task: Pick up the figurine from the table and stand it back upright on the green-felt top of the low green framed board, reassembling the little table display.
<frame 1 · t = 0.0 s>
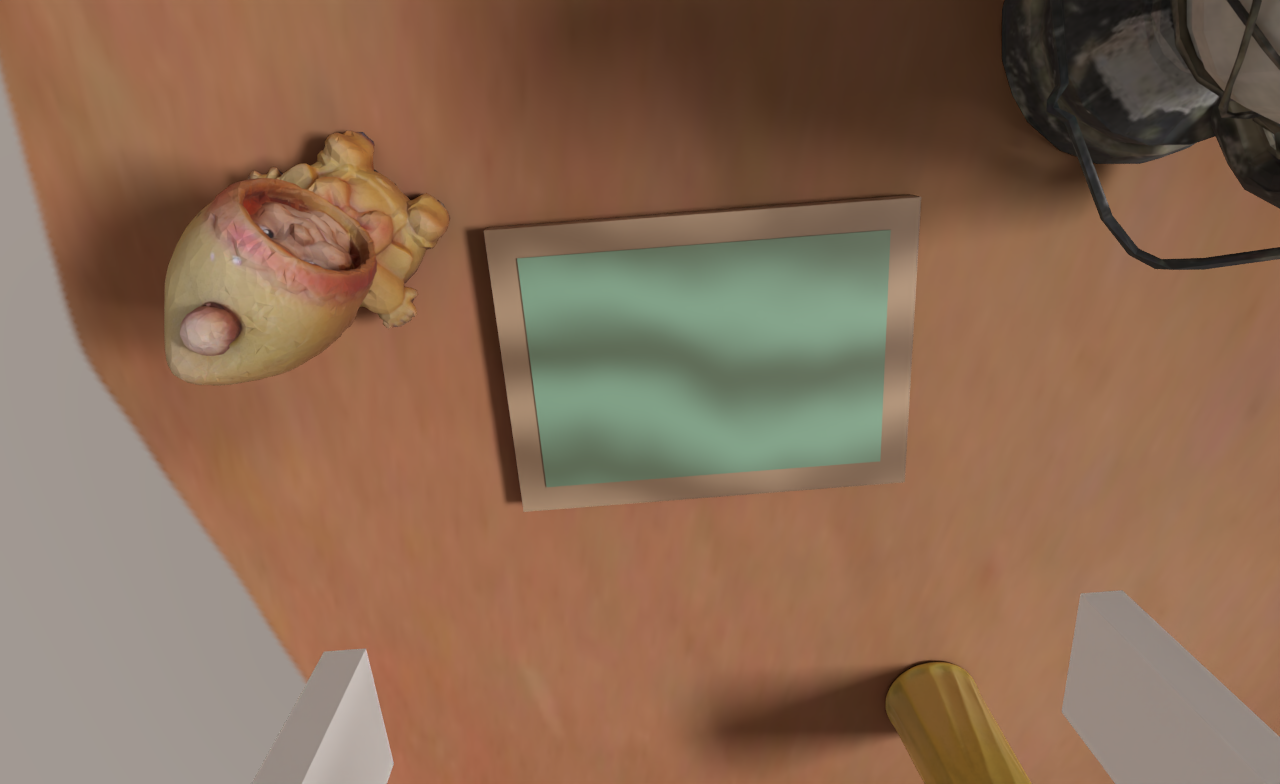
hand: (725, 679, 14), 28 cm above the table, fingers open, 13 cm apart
lantern: (1102, 32, 36), on the table
figurine: (353, 237, 38), on the table
vase: (928, 694, 50), on the table
green framed board: (706, 358, 41), on the table
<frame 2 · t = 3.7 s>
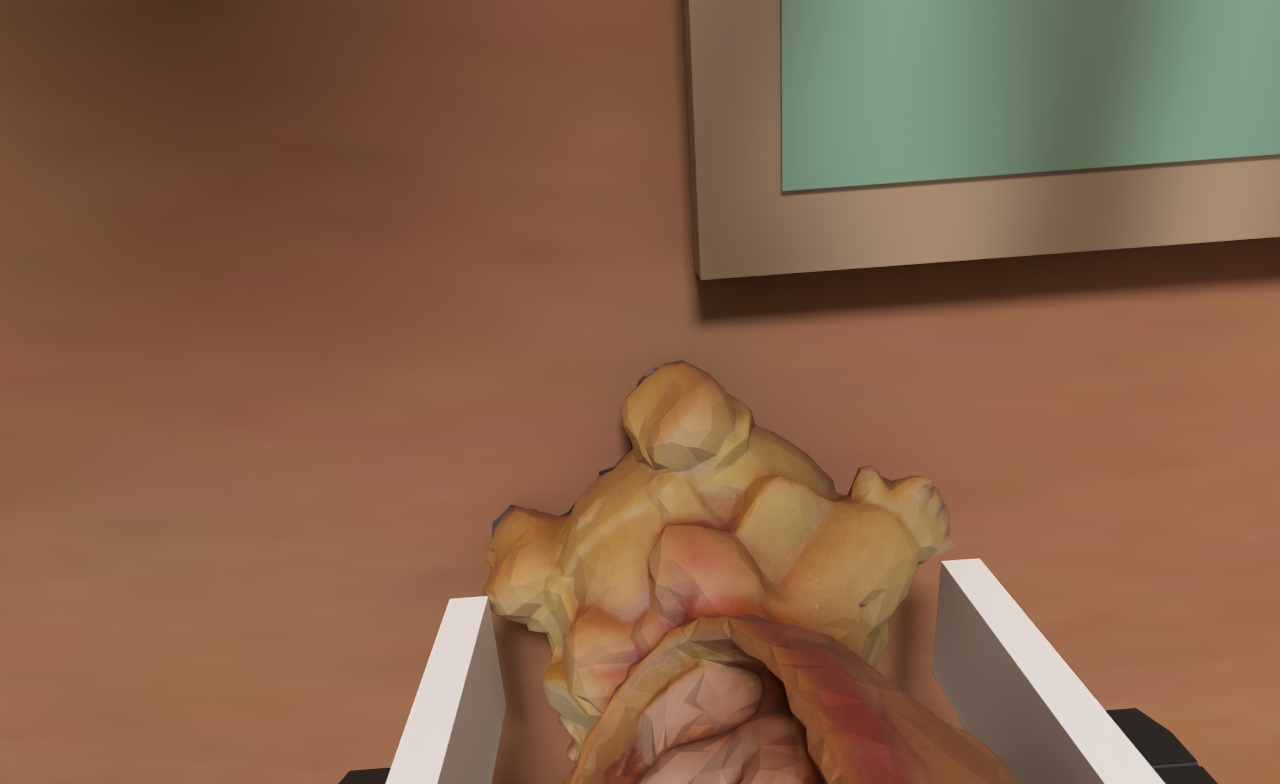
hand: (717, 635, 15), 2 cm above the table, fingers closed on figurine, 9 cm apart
figurine: (716, 561, 17), on the table, touching gripper
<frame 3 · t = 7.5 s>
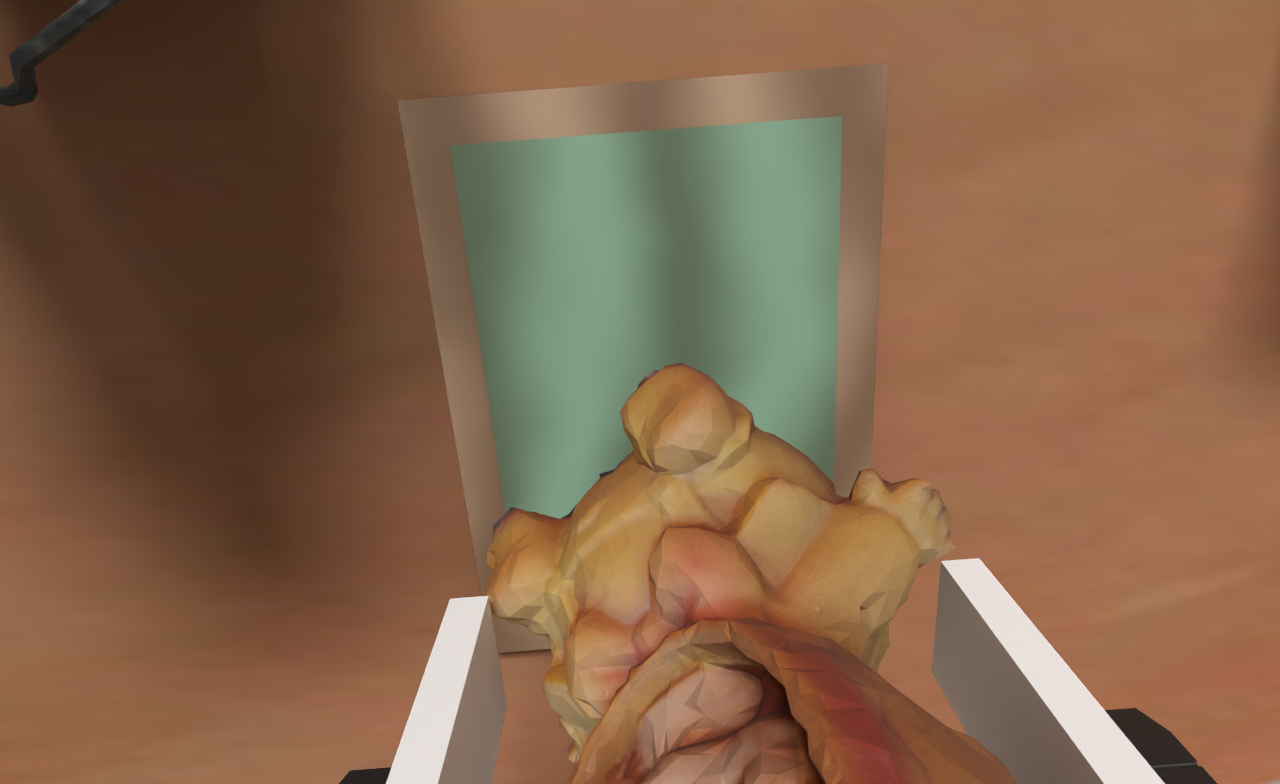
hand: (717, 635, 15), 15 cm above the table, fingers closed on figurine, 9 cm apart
figurine: (716, 563, 17), point 12 cm above the table, touching gripper
green framed board: (661, 387, 29), on the table
when the fingers open (4 cm above the table, at t = 11.5 s): figurine stays where it is, resting on green framed board.
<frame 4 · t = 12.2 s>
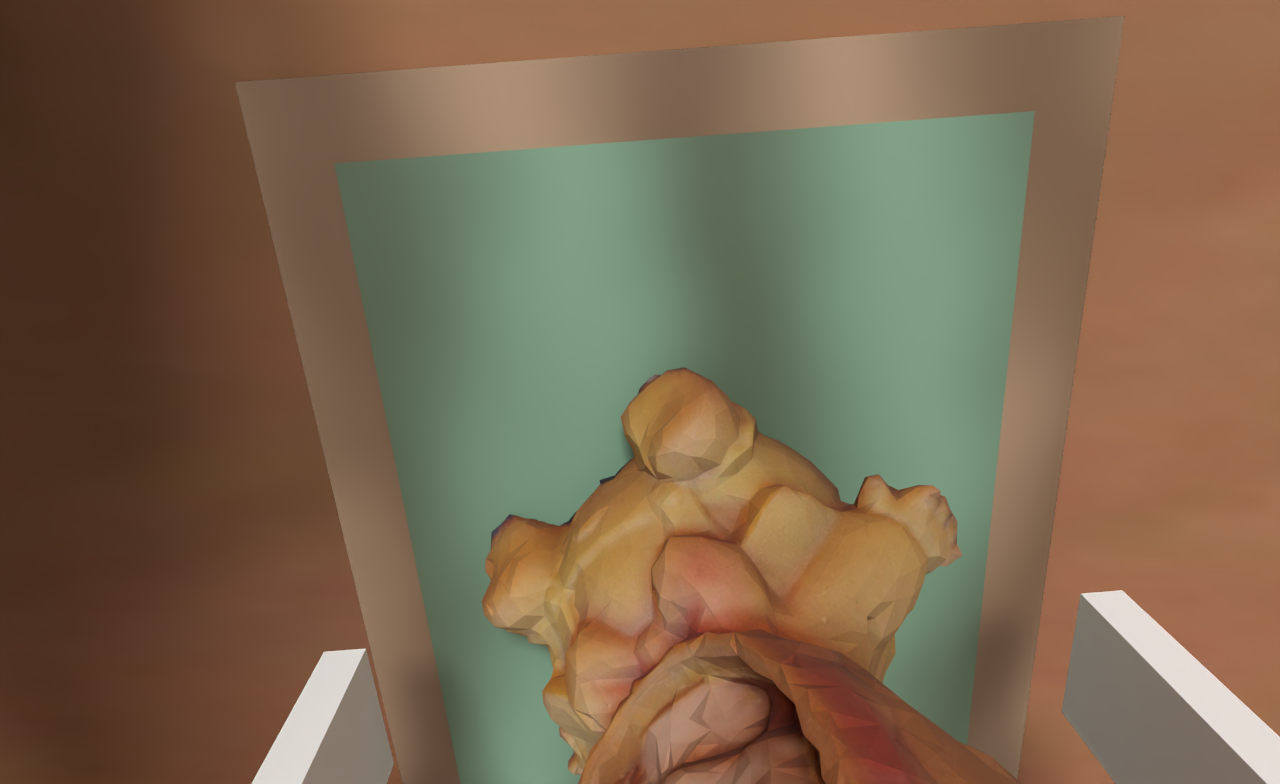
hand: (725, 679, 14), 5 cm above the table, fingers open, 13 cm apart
figurine: (718, 570, 17), point 1 cm above the table, touching green framed board
green framed board: (699, 543, 18), on the table
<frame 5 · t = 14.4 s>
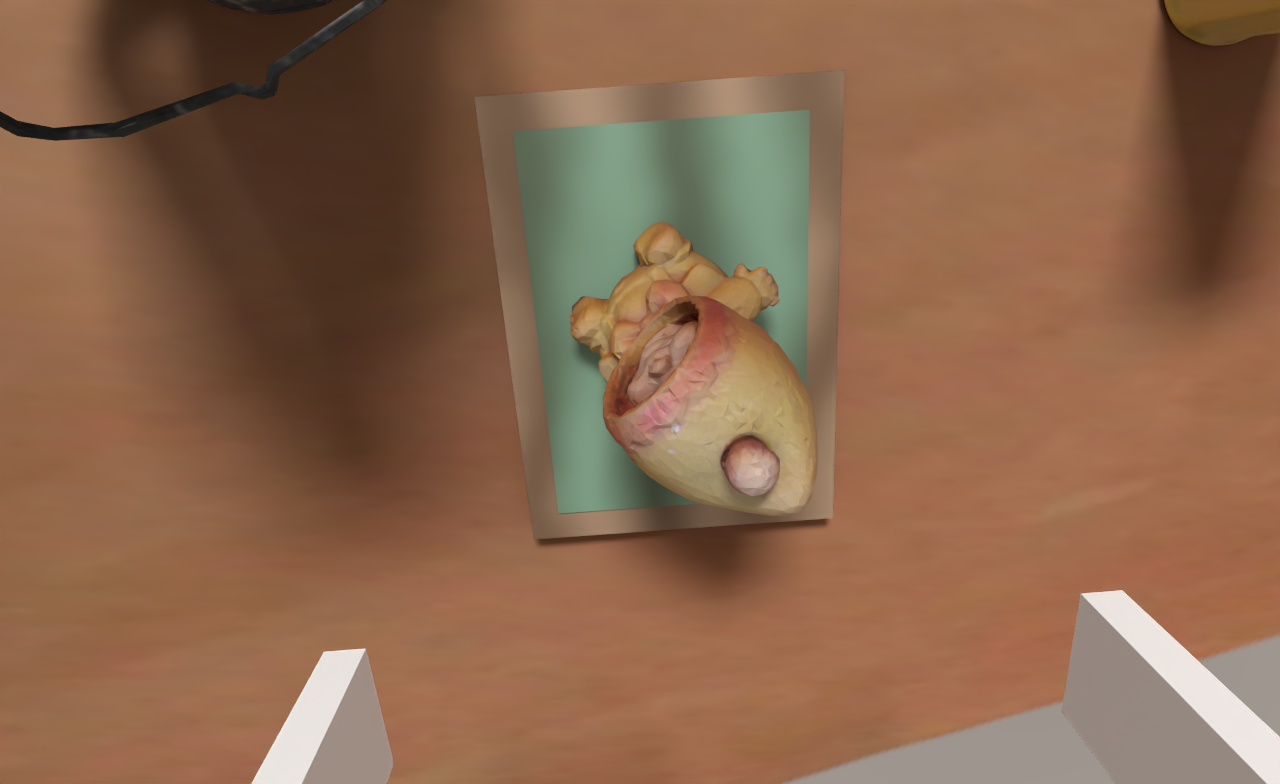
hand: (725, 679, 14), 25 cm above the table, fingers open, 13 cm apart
figurine: (679, 329, 36), point 1 cm above the table, touching green framed board
green framed board: (670, 323, 37), on the table
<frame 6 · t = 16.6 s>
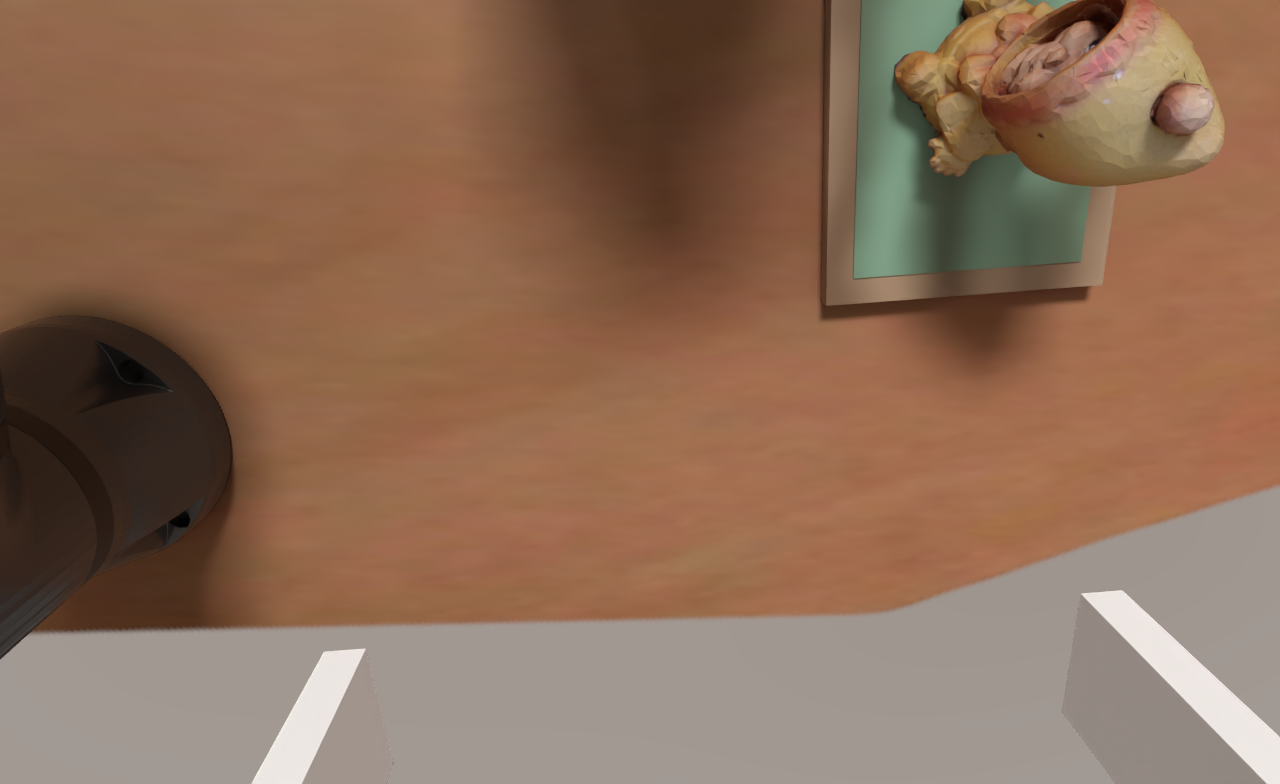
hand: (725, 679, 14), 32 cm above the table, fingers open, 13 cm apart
figurine: (986, 91, 39), point 1 cm above the table, touching green framed board
green framed board: (970, 91, 40), on the table
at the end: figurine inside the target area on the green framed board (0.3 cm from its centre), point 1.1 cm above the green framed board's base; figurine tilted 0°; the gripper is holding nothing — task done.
